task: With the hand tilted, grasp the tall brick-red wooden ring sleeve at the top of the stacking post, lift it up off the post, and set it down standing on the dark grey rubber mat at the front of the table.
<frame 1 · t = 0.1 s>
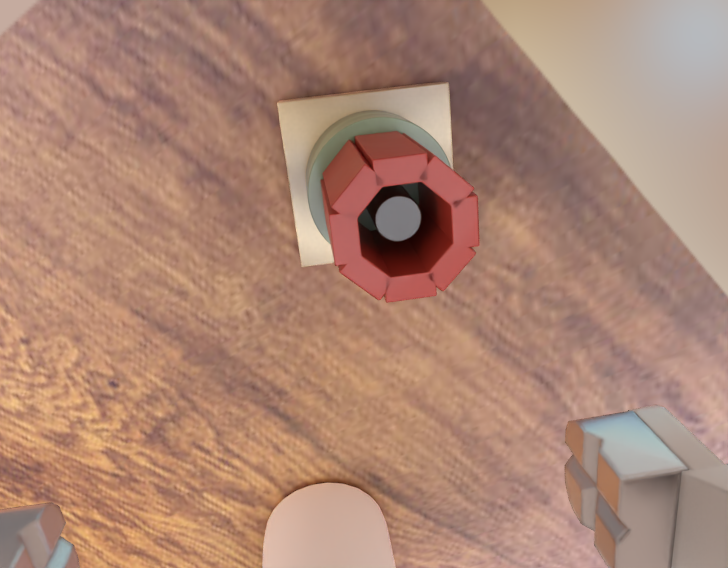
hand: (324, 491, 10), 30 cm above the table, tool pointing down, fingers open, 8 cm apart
ring stand: (369, 174, 38), on the table
ring sleeve: (381, 193, 33), point 5 cm above the table, touching ring stand
mug: (317, 536, 48), on the table
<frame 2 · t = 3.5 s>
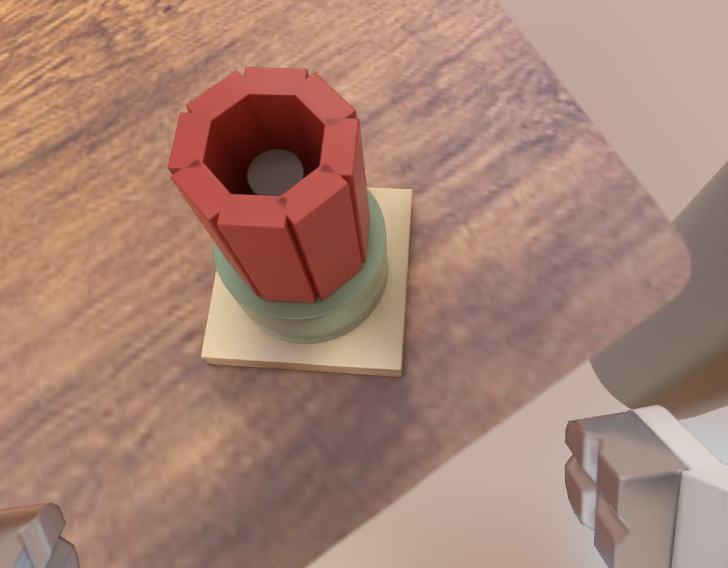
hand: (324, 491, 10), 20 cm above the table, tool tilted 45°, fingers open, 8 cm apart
ring stand: (314, 280, 33), on the table
ring sleeve: (298, 236, 28), point 5 cm above the table, touching ring stand
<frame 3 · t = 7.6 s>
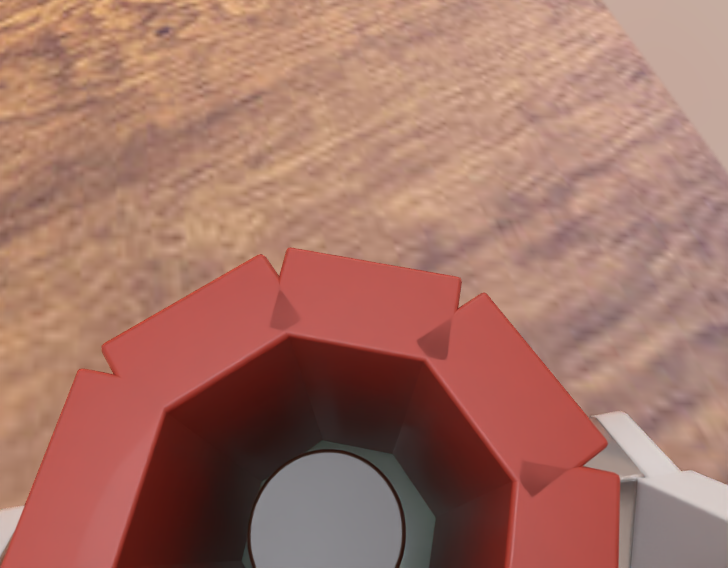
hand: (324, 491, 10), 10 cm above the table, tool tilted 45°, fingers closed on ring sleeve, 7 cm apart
ring stand: (344, 542, 18), on the table
ring sleeve: (340, 538, 13), point 6 cm above the table, touching gripper, ring stand
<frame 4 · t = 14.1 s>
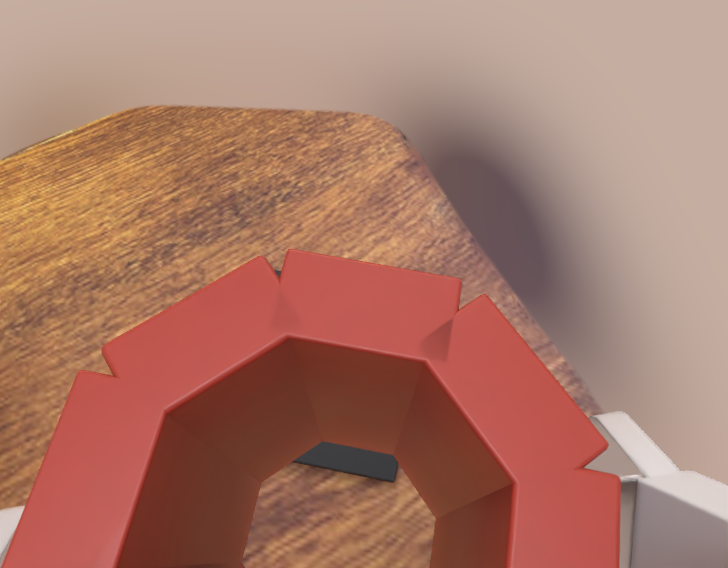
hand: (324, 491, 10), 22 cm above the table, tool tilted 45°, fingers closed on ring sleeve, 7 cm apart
ring sleeve: (340, 539, 13), point 17 cm above the table, touching gripper
mat: (318, 368, 33), on the table
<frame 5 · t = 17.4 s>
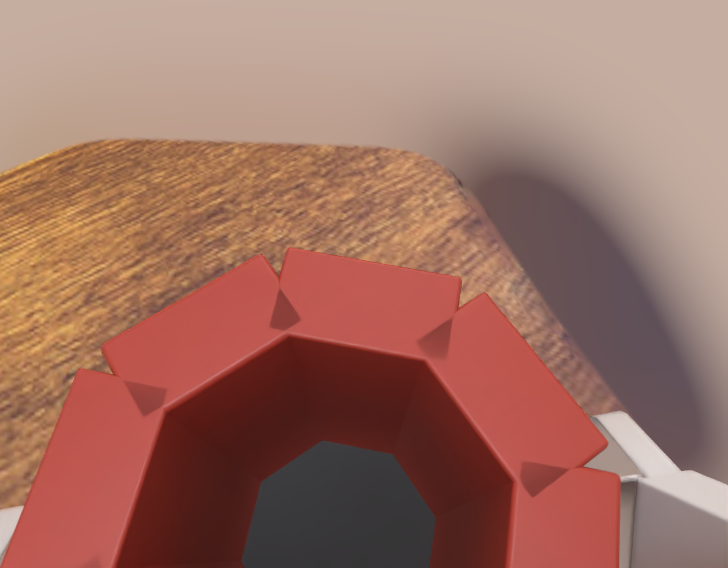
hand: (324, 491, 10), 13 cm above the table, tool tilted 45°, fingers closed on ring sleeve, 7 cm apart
ring sleeve: (340, 539, 13), point 9 cm above the table, touching gripper
mat: (348, 546, 22), on the table
when the fingers open (5 cm above the table, at t = 20.4 s): ring sleeve stays where it is, resting on mat.
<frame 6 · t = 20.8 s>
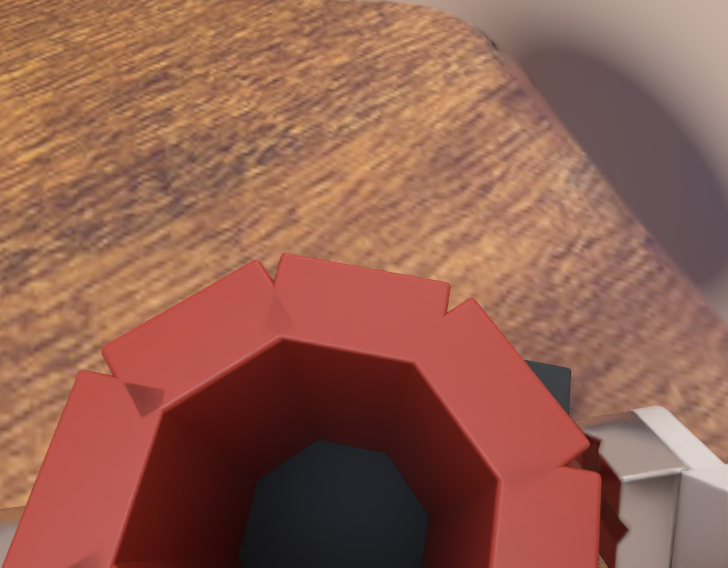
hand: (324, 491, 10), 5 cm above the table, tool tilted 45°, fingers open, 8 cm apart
ring sleeve: (334, 536, 14), point 1 cm above the table, touching mat
mat: (336, 539, 14), on the table
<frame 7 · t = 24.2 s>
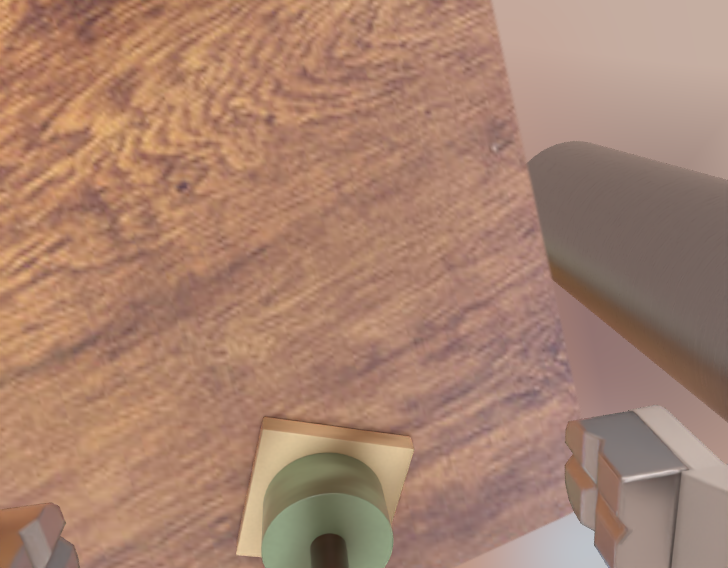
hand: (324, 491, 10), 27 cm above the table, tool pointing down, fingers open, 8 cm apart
ring stand: (322, 488, 42), on the table
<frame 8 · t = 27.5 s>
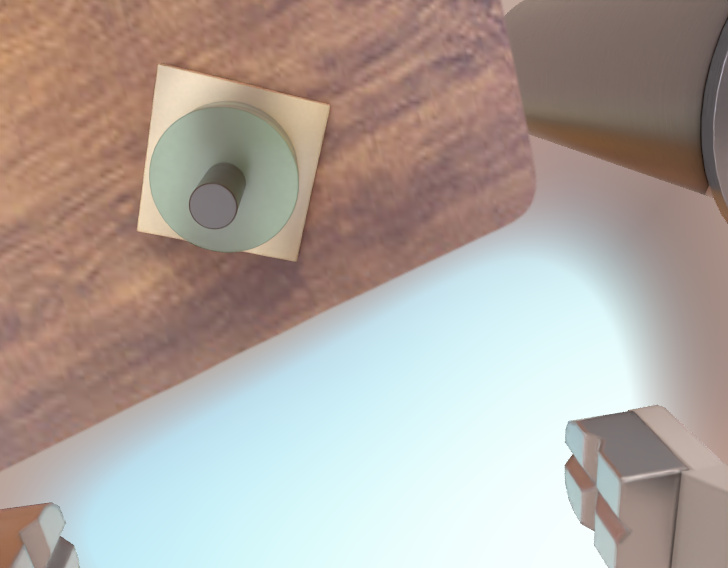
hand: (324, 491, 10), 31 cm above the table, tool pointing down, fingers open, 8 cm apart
ring stand: (233, 165, 38), on the table
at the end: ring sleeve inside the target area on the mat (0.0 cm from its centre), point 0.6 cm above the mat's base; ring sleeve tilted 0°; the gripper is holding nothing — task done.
